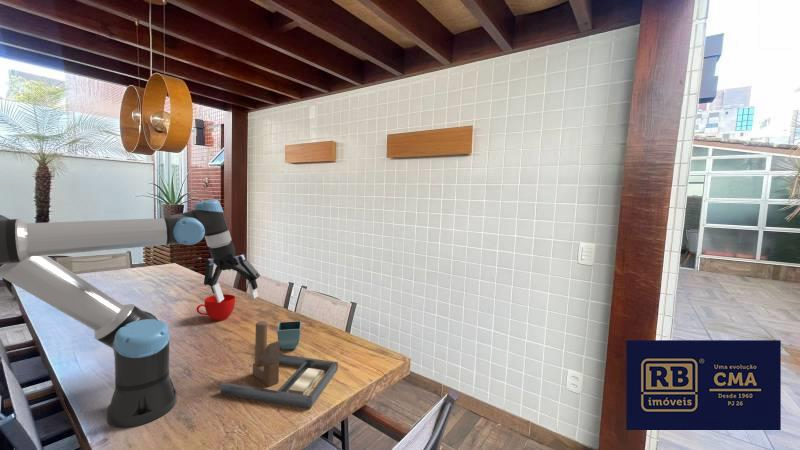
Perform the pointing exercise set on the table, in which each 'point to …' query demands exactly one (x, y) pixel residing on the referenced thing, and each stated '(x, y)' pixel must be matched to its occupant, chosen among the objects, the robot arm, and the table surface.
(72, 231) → the robot arm
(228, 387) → the tray
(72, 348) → the table surface
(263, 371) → the wooden block
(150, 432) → the table surface
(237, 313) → the table surface
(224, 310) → the ceramic cup
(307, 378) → the offcut stack
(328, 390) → the table surface
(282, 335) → the flower pot
